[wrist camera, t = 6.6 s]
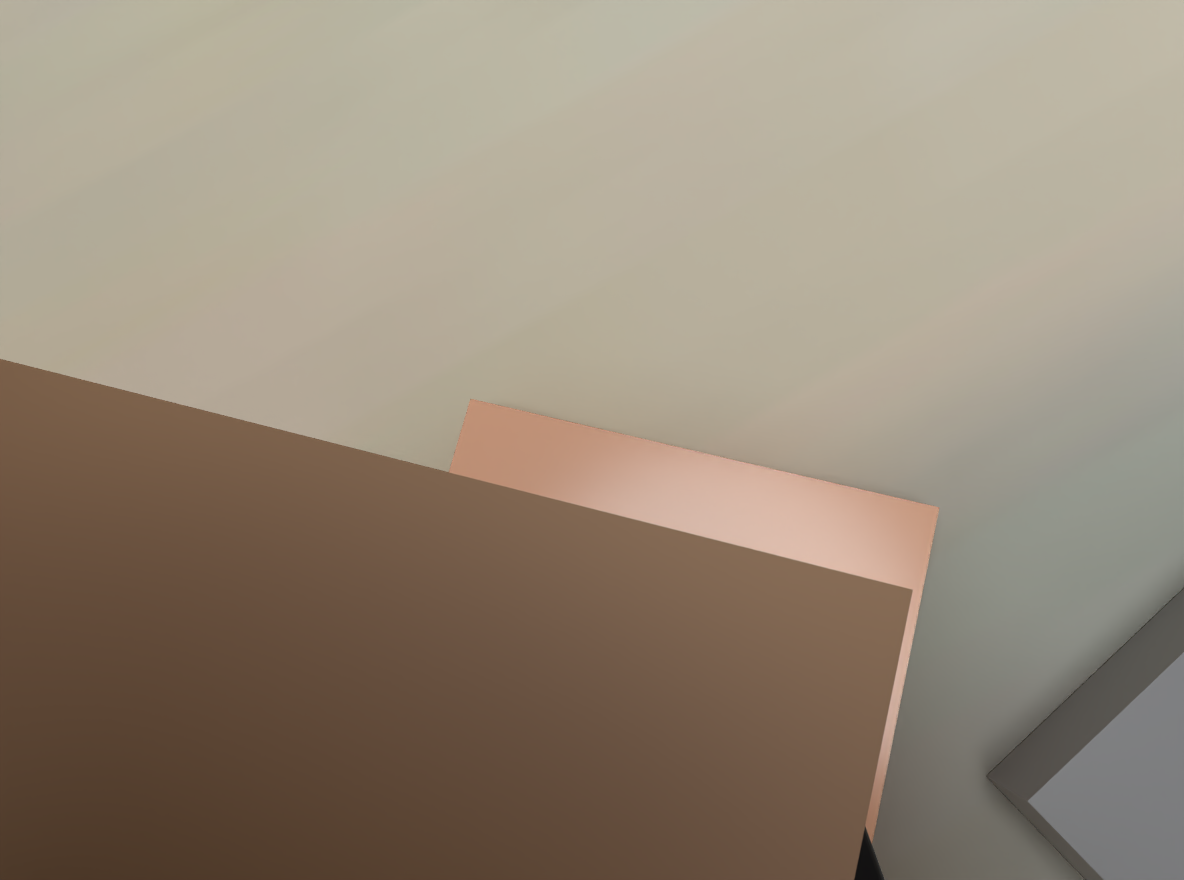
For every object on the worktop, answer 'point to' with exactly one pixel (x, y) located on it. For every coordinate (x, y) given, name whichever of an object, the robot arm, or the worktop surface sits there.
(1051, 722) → the slate shelf ledge
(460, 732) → the walnut block
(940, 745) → the worktop surface
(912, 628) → the terracotta tile stand
